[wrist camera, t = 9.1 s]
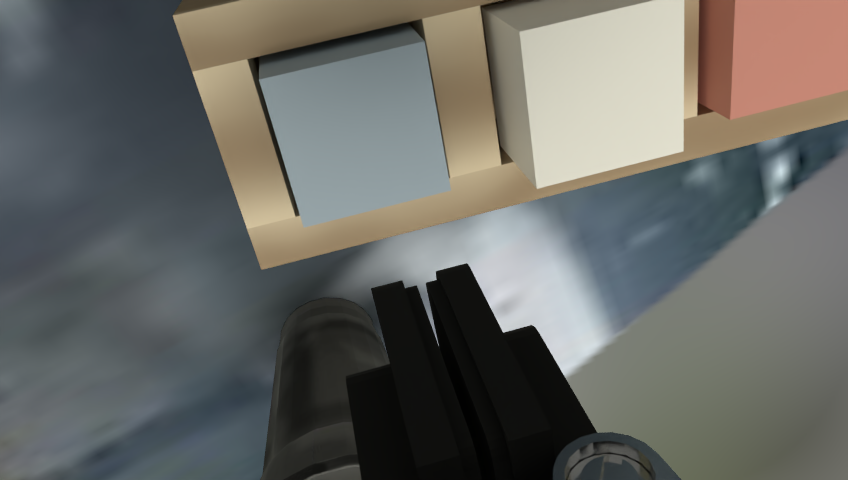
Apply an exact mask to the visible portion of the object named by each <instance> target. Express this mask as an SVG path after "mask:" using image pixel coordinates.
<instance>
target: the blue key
mask: <svg viewBox="0 0 848 480" xmlns="http://www.w3.org/2000/svg"><path fill="white" fill-rule="evenodd" d="M259 82H260V85H261V88H262V92H263V95H264V98H265V102H266V105H267V108H268V112H269V115H270V118H271V121H272V125H273V128H274V131H275V135H276V138H277V141H278V144H279V148H280V151H281V154H282V158H283V161H284V164H285V168H286V171H287V174H288V177H289V181H290V184H291V187H292V191H293V194H294V197H295V201H296V204H297V207H298V210H299V214H300V217H301V220H302V224H303V227H308V226H312V225H316V224H320V223H324V222H328V221H332V220H336V219H340V218H344V217H348V216H352V215H356V214H360V213H364V212H368V211H372V210H376V209H380V208H384V207H387V206H391V205H395V204H399V203H403V202H407V201H411V200H415V199H419V198H423V197H427V196H431V195H435V194H439V193H443V192H447V191H451V187H450V182H449V176H448V170H447V165H446V159H445V153H444V148H443V142H442V137H441V131H440V125H439V120H438V114H437V108H436V103H435V97H434V92H433V86H432V80H431V75H430V69H429V63H428V58H427V52H426V47H425V41H424V40H423V39H422V38H421V37H420V36H419V35H418V33H417V32H416V31H415V30H414V29H413V28H412V27H411V26H410V25H409V24H408V23H407V22H406V23H402V24H397V25H393V26H389V27H384V28H380V29H376V30H371V31H367V32H363V33H358V34H354V35H349V36H345V37H341V38H336V39H332V40H328V41H323V42H319V43H315V44H310V45H306V46H302V47H297V48H293V49H289V50H284V51H280V52H276V53H271V54H267V55H263V56H260V62H259Z"/></svg>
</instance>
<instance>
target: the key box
mask: <svg viewBox="0 0 848 480" xmlns="http://www.w3.org/2000/svg"><path fill="white" fill-rule="evenodd" d="M508 1H512V0H182V2H181V3H180V5H179V6H178V8H177V10H176V11H175V13H174V14H173V18H174V21H175V24H176V27H177V30H178V33H179V35H180V38H181V41H182V44H183V47H184V50H185V53H186V55H187V58H188V61H189V64H190V67H191V70H192V73H193V75H194V78H195V81H196V84H197V87H198V90H199V93H200V95H201V98H202V101H203V104H204V107H205V110H206V113H207V115H208V118H209V121H210V124H211V127H212V130H213V133H214V135H215V138H216V141H217V144H218V147H219V150H220V153H221V155H222V158H223V161H224V164H225V167H226V170H227V173H228V175H229V178H230V181H231V184H232V187H233V190H234V193H235V195H236V198H237V201H238V204H239V207H240V210H241V213H242V216H243V218H244V221H245V224H246V227H247V230H248V233H249V236H250V238H251V241H252V244H253V247H254V250H255V253H256V256H257V258H258V261H259V264H260V267H261V270H263V269H267V268H271V267H275V266H279V265H283V264H286V263H290V262H294V261H298V260H302V259H306V258H310V257H314V256H318V255H321V254H325V253H329V252H333V251H337V250H341V249H345V248H349V247H353V246H357V245H360V244H364V243H368V242H372V241H376V240H380V239H384V238H388V237H392V236H395V235H399V234H403V233H407V232H411V231H415V230H419V229H423V228H427V227H431V226H434V225H438V224H442V223H446V222H450V221H454V220H458V219H462V218H466V217H469V216H473V215H477V214H481V213H485V212H489V211H493V210H497V209H501V208H505V207H508V206H512V205H516V204H520V203H524V202H528V201H532V200H536V199H540V198H543V197H547V196H551V195H555V194H559V193H563V192H567V191H571V190H575V189H579V188H582V187H586V186H590V185H594V184H598V183H602V182H606V181H610V180H614V179H617V178H621V177H625V176H629V175H633V174H637V173H641V172H645V171H649V170H653V169H656V168H660V167H664V166H668V165H672V164H676V163H680V162H684V161H688V160H691V159H695V158H699V157H703V156H707V155H711V154H715V153H719V152H723V151H727V150H730V149H734V148H738V147H742V146H746V145H750V144H754V143H758V142H762V141H765V140H769V139H773V138H777V137H781V136H785V135H789V134H793V133H797V132H801V131H804V130H808V129H812V128H816V127H820V126H824V125H828V124H832V123H836V122H839V121H843V120H847V119H848V90H847V91H843V92H839V93H835V94H831V95H827V96H823V97H819V98H815V99H811V100H807V101H803V102H799V103H795V104H791V105H787V106H783V107H779V108H775V109H771V110H767V111H763V112H759V113H756V114H752V115H748V116H744V117H740V118H736V119H732V120H729V119H728V118H726V117H724V116H722V115H720V114H718V113H717V112H715V111H713V110H711V109H709V108H707V107H705V106H704V105H702V104H700V103H698V102H697V99H698V37H699V0H684V151H683V152H679V153H675V154H671V155H668V156H664V157H660V158H656V159H652V160H648V161H644V162H640V163H636V164H632V165H628V166H624V167H621V168H617V169H613V170H609V171H605V172H601V173H597V174H593V175H589V176H585V177H581V178H577V179H574V180H570V181H566V182H562V183H558V184H554V185H550V186H546V187H542V188H538V189H536V187H535V186H534V185H533V184H532V183H531V181H530V180H529V179H528V178H527V177H526V176H525V174H524V173H523V172H522V171H521V170H520V168H519V167H518V166H517V165H516V164H515V163H514V161H513V160H512V159H511V158H510V157H509V155H508V154H507V153H506V152H505V151H504V150H503V148H502V147H501V146H500V140H499V132H498V125H497V117H496V110H495V102H494V95H493V87H492V80H491V72H490V65H489V57H488V50H487V43H486V35H485V28H484V20H483V13H482V7H486V6H491V5H495V4H499V3H504V2H508ZM406 22H407V23H408V24H409V25H410V26H411V27H412V28H413V29H414V30H415V31H416V32H417V33H418V35H419V36H420V37H421V38H422V39H423V40H424V41H425V47H426V52H427V58H428V63H429V69H430V75H431V80H432V86H433V92H434V97H435V103H436V108H437V114H438V120H439V125H440V131H441V137H442V142H443V148H444V153H445V159H446V165H447V170H448V176H449V182H450V187H451V191H447V192H443V193H439V194H435V195H431V196H427V197H423V198H419V199H415V200H411V201H407V202H403V203H399V204H395V205H391V206H387V207H384V208H380V209H376V210H372V211H368V212H364V213H360V214H356V215H352V216H348V217H344V218H340V219H336V220H332V221H328V222H324V223H320V224H316V225H312V226H308V227H303V224H302V220H301V217H300V214H299V210H298V207H297V204H296V201H295V197H294V194H293V191H292V187H291V184H290V181H289V177H288V174H287V171H286V168H285V164H284V161H283V158H282V154H281V151H280V148H279V144H278V141H277V138H276V135H275V131H274V128H273V125H272V121H271V118H270V115H269V112H268V108H267V105H266V102H265V98H264V95H263V92H262V88H261V85H260V82H259V62H260V56H263V55H267V54H271V53H276V52H280V51H284V50H289V49H293V48H297V47H302V46H306V45H310V44H315V43H319V42H323V41H328V40H332V39H336V38H341V37H345V36H349V35H354V34H358V33H363V32H367V31H371V30H376V29H380V28H384V27H389V26H393V25H397V24H402V23H406Z"/></svg>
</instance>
